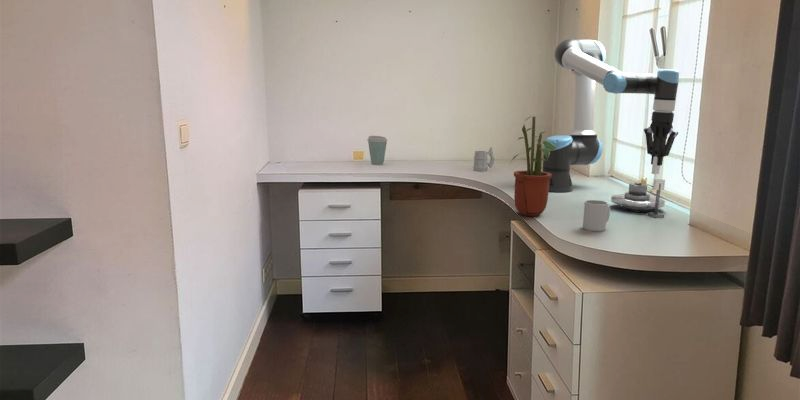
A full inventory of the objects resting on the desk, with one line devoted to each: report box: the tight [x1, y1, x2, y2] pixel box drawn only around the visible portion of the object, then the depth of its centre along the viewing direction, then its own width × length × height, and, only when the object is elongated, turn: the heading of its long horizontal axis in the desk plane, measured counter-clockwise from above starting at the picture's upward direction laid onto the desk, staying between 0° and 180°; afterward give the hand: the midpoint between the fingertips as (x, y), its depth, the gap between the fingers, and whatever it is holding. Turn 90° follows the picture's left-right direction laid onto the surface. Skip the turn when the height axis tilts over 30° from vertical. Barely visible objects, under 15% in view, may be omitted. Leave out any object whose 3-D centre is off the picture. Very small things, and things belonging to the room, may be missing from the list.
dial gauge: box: [647, 178, 666, 219], centre depth 220 cm, size 4×6×13 cm
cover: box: [624, 182, 651, 201], centre depth 232 cm, size 9×9×6 cm
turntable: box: [610, 177, 666, 209], centre depth 232 cm, size 19×19×8 cm
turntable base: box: [620, 205, 653, 213], centre depth 233 cm, size 11×11×2 cm
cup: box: [582, 199, 611, 232], centre depth 199 cm, size 7×10×9 cm
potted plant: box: [509, 115, 558, 217], centre depth 218 cm, size 17×16×35 cm
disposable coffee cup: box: [366, 135, 388, 166], centre depth 331 cm, size 11×11×15 cm
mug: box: [472, 147, 495, 172], centre depth 319 cm, size 8×12×12 cm, turn 112°
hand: (655, 173), depth 233 cm, fingers closed
